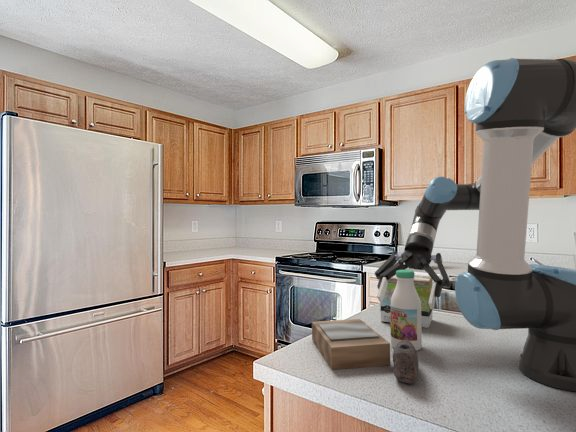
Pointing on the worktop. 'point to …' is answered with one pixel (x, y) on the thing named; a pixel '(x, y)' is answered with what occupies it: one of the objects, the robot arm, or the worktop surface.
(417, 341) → the milk bottle
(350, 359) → the walnut stand
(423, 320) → the tea box
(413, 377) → the perforated stone tool
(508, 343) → the worktop surface
